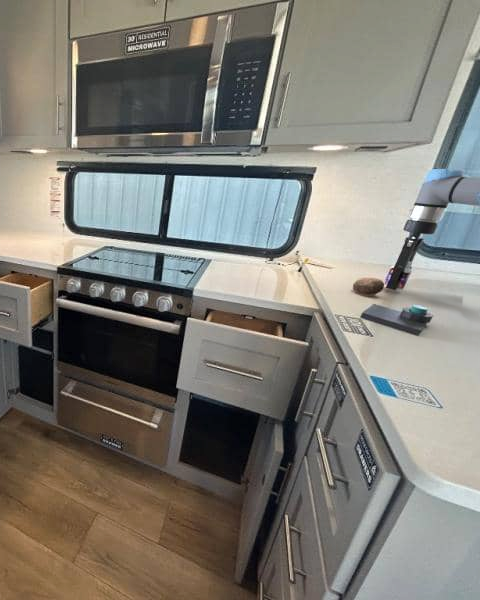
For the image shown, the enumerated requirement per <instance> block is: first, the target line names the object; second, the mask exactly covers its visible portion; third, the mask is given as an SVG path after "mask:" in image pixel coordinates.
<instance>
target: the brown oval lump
mask: <svg viewBox="0 0 480 600" xmlns="http://www.w3.org/2000/svg"><path fill="white" fill-rule="evenodd" d="M384 288H385V287H384V281H383V280H382V279H379V278H375V277H363V278H359V279H357V280H355V282H354V283H352V290H353V291H354V293H355V294H358V295H360V296H363V297H364V296H365V297H371V296H375V295H377V294H379V293H381V292H382V291H383V290H384Z"/></svg>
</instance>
